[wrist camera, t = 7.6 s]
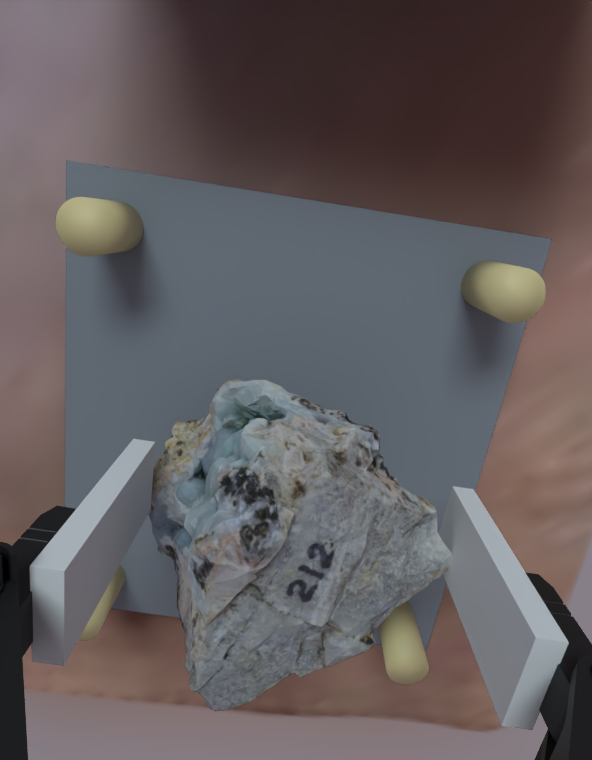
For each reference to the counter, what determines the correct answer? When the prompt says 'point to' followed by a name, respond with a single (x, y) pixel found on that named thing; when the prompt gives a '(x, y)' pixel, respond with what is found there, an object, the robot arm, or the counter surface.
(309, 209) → the base
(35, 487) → the counter surface
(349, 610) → the mineral specimen
